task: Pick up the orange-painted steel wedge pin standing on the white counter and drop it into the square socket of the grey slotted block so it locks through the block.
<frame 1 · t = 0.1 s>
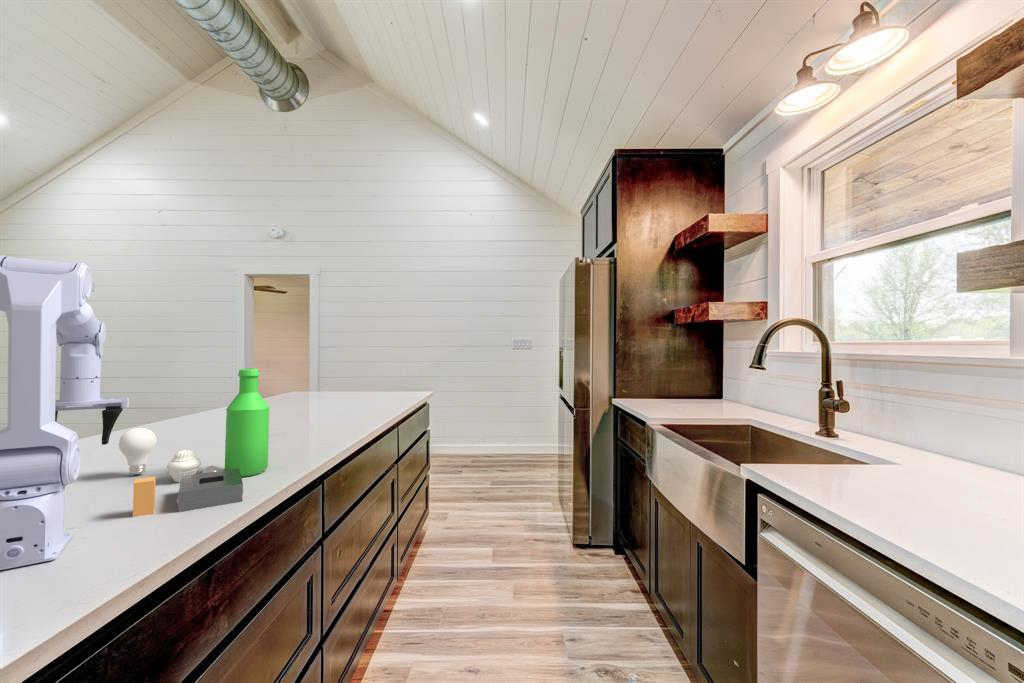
hand: (78, 445, 85), 10 cm above the counter, fingers open, 7 cm apart
wedge pin: (144, 512, 77), on the counter
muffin: (183, 481, 95), on the counter
grey slotted block: (211, 496, 85), on the counter
bottle: (246, 473, 102), on the counter
light bulb: (137, 475, 98), on the counter
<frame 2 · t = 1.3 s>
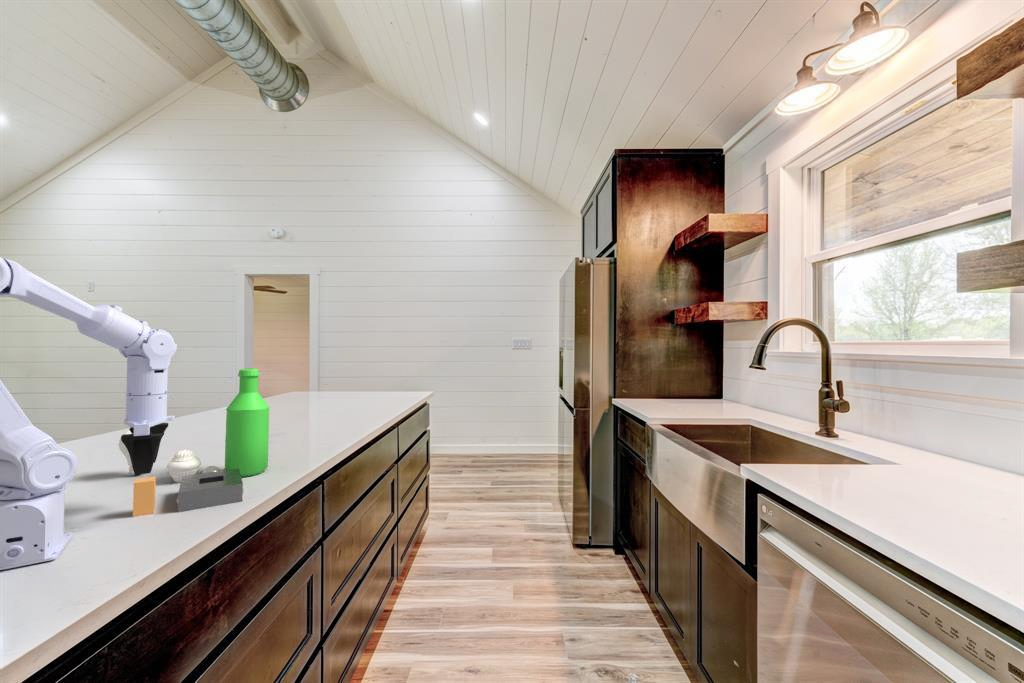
hand: (145, 468, 77), 8 cm above the counter, fingers open, 7 cm apart
nothing on the counter moved.
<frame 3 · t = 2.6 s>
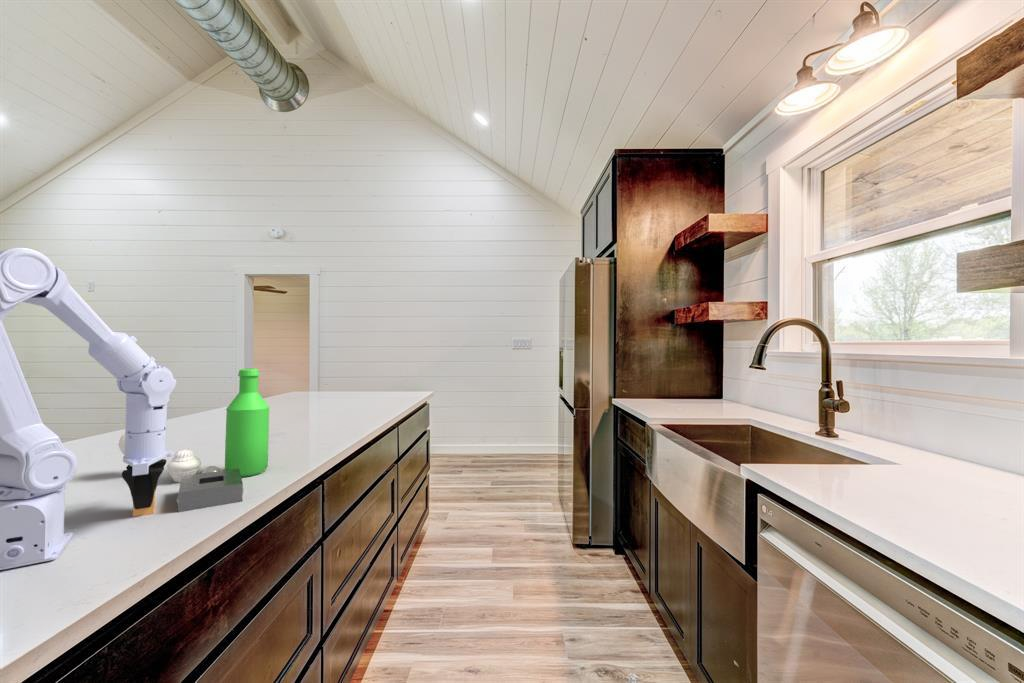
hand: (144, 504, 77), 1 cm above the counter, fingers closed on wedge pin, 3 cm apart
wedge pin: (144, 512, 77), on the counter, touching gripper
everything else where it was.
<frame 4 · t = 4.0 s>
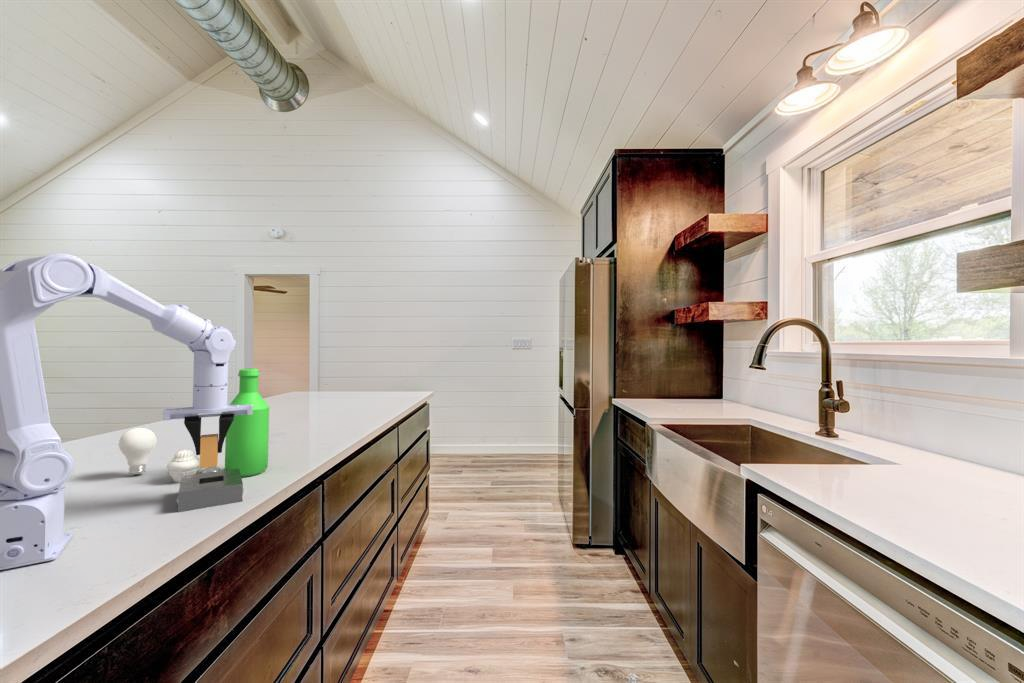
hand: (209, 452, 85), 9 cm above the counter, fingers closed on wedge pin, 3 cm apart
wedge pin: (208, 465, 85), point 6 cm above the counter, touching gripper
everything else where it was.
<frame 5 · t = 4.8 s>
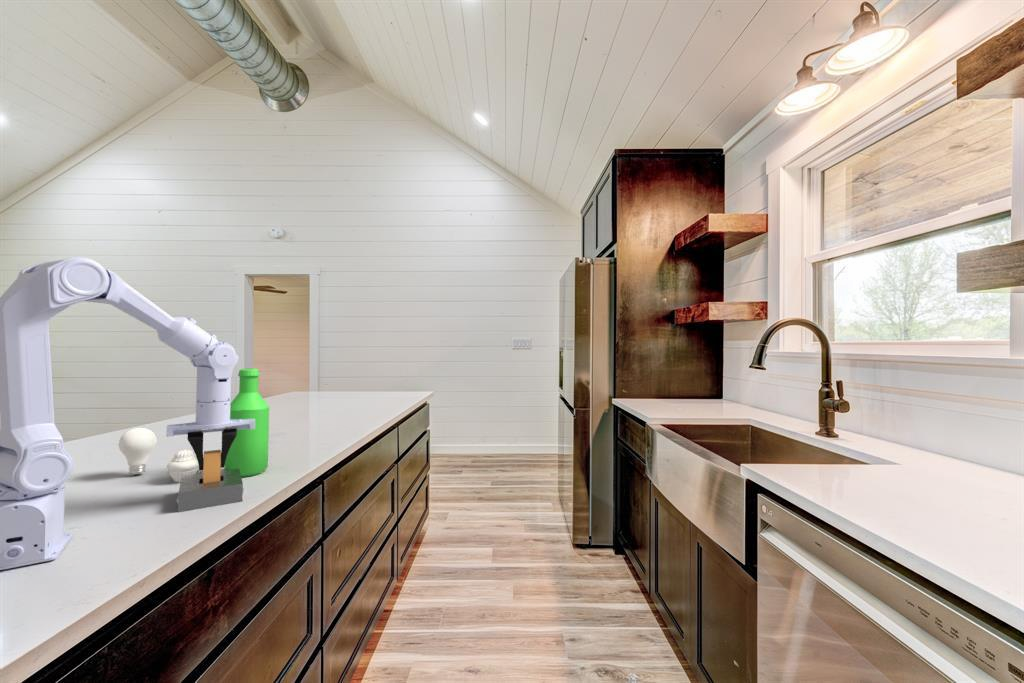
hand: (212, 467, 85), 6 cm above the counter, fingers closed on wedge pin, 3 cm apart
wedge pin: (211, 481, 85), point 3 cm above the counter, touching gripper
everything else where it was.
when the fingers open (4 cm above the counter, at t = 5.5 s): wedge pin stays where it is, resting on grey slotted block.
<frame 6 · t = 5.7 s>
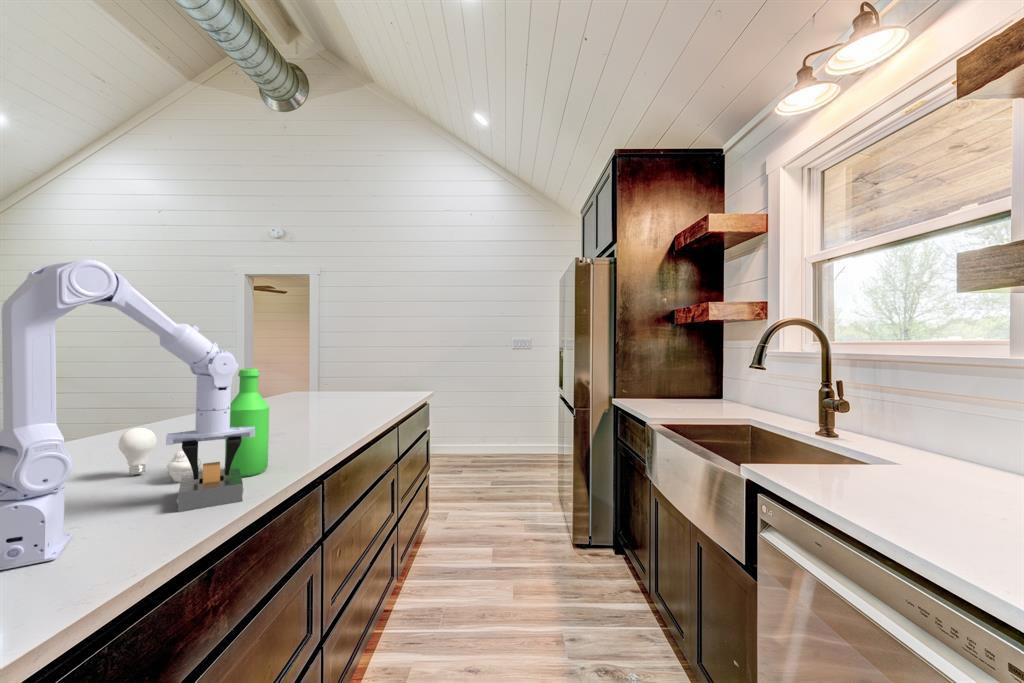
hand: (211, 476, 85), 4 cm above the counter, fingers open, 4 cm apart
wedge pin: (211, 493, 85), point 1 cm above the counter, touching grey slotted block
everything else where it was.
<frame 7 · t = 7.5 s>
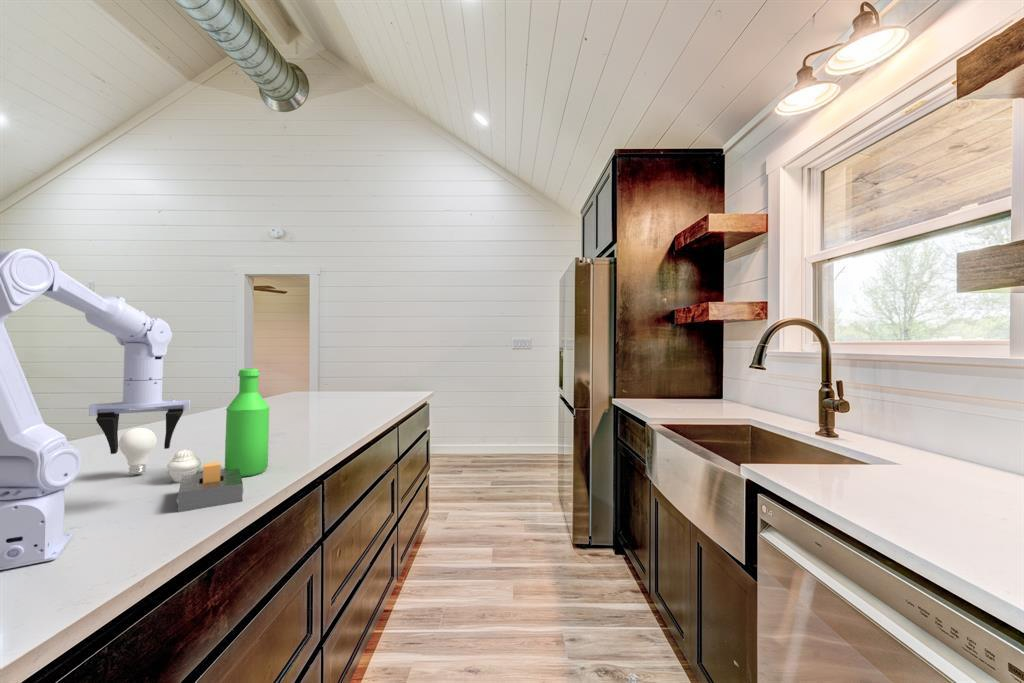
hand: (141, 450, 81), 10 cm above the counter, fingers open, 7 cm apart
nothing on the counter moved.
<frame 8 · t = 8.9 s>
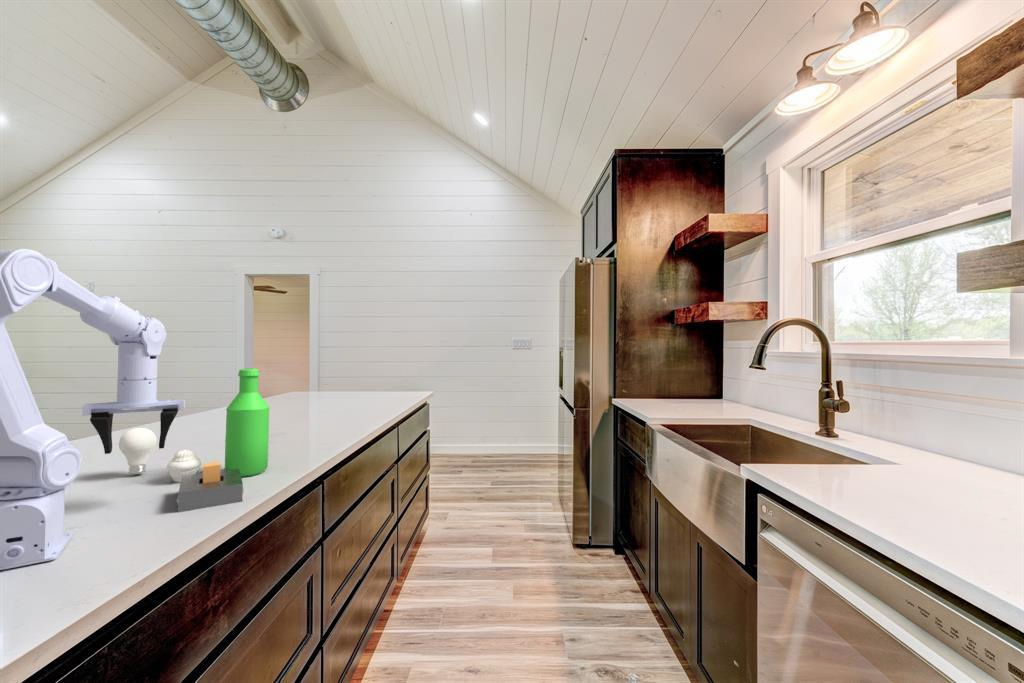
hand: (135, 450, 81), 10 cm above the counter, fingers open, 7 cm apart
nothing on the counter moved.
at the end: wedge pin 0.0 cm off-centre on the grey slotted block, point 0.6 cm above the grey slotted block's base; wedge pin tilted 0°; the gripper is holding nothing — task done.
